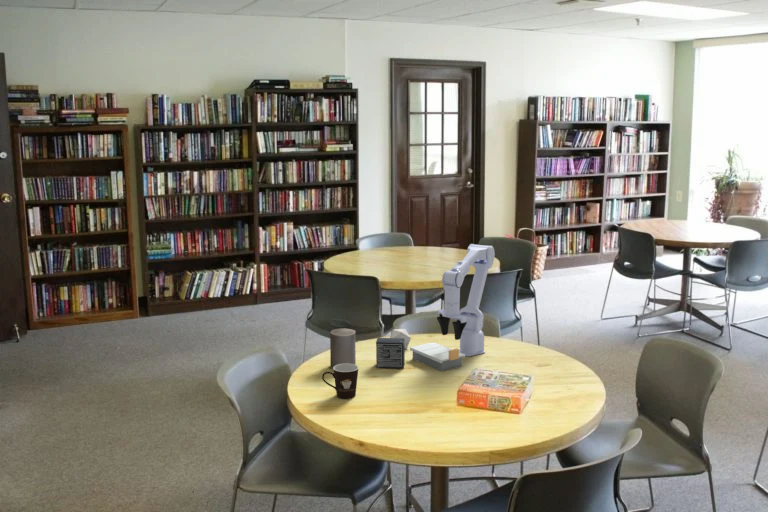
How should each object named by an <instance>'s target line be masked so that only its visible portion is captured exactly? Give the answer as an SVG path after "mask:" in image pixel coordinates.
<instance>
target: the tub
mask: <svg viewBox="0 0 768 512" xmlns="http://www.w3.org/2000/svg"><path fill="white" fill-rule="evenodd" d="M412 360H414V361H417V362H419V363H421V364H424V365H426V366H428V367H431V368H433V369H435V370H437V371H440V372H445V371H449V370H452V369H453V370H454V369H457V368H461V367H463V357H459V359H455V360H446V361H442V363H439V362H437V361H434V360H432V359H430V358H427V357H425V356H423V355H420V354H418V353H415V352H413V351H412Z"/></svg>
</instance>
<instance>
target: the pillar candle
mask: <svg viewBox="0 0 768 512" xmlns="http://www.w3.org/2000/svg"><path fill="white" fill-rule="evenodd" d="M329 336H330V337H329V344H330V346H329V348H330V349H329V350H330V360H329V361H330V365H329V366H330V368H331V369H332V370H333V367H334V366H335V365H338V364H354V365H357V364H356V358H357V357H356V352H357V351H356V330H354V329H351V328H345V327H344V328H336V329H335V328H334V329H332V330H331V331H330V333H329Z"/></svg>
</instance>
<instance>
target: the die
mask: <svg viewBox="0 0 768 512" xmlns="http://www.w3.org/2000/svg"><path fill="white" fill-rule="evenodd" d="M389 338H404V350H407V349H408V346H409V344H410V342H411V339H412V337H411V335H410V334H409V333H408V331H407V329H406V328H398V329H397V328H396V329H395V328H394V329H392V331H391V334H390V337H389Z"/></svg>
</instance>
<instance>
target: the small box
mask: <svg viewBox="0 0 768 512" xmlns="http://www.w3.org/2000/svg"><path fill="white" fill-rule="evenodd" d="M375 344H376V345H375V346H376V347H375V348H376V349H375V350H376V352H375V353H376V355H375V358H376V361H375V362H376V367H375V368H376V369H390V370H391V369H392V370H393V369H395V370H403V369H404V368H405V364H406V362H405V351H406V349H404V338H390V337H377V338H376V341H375Z"/></svg>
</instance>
